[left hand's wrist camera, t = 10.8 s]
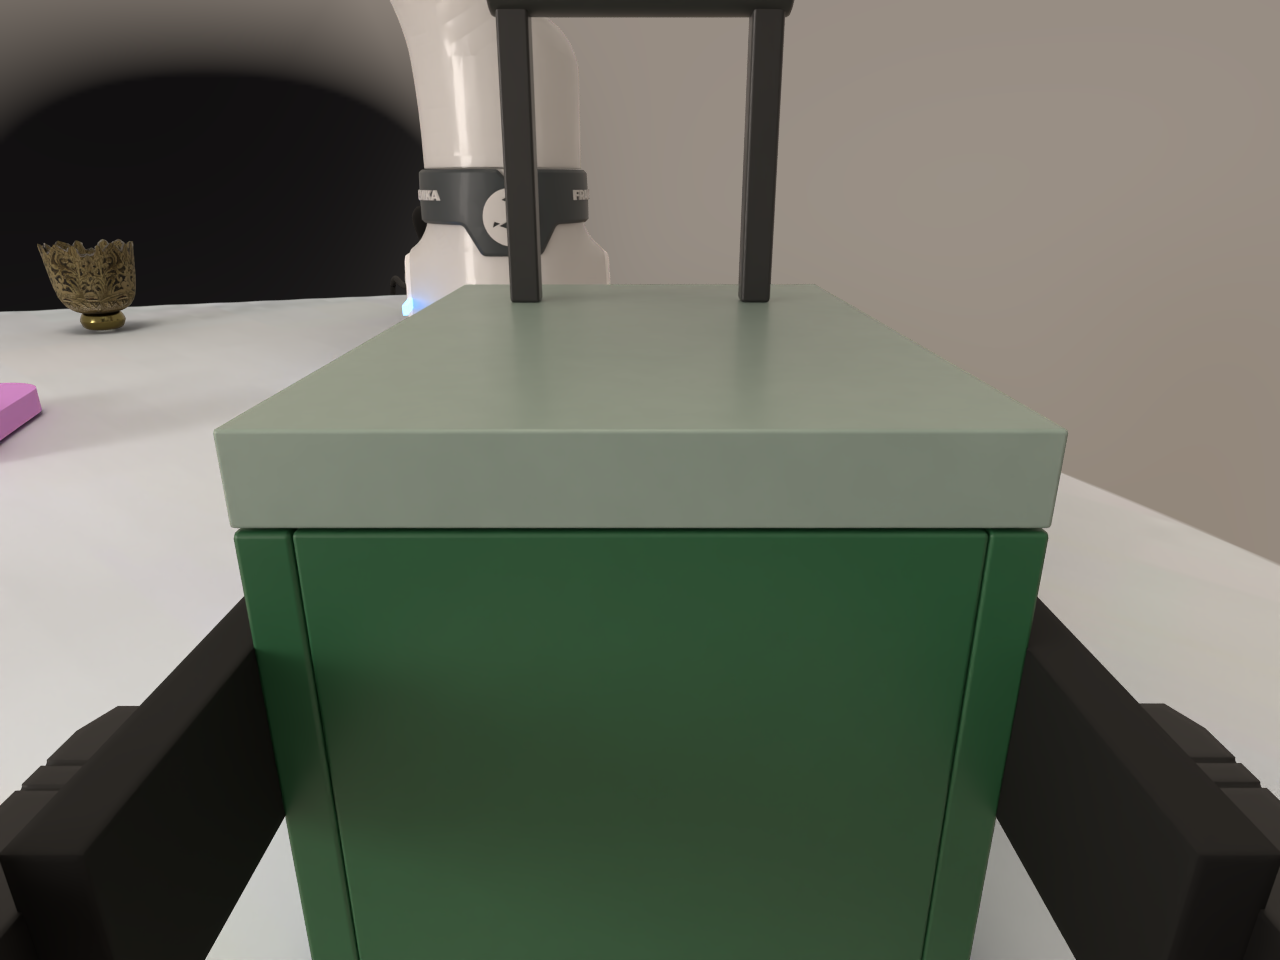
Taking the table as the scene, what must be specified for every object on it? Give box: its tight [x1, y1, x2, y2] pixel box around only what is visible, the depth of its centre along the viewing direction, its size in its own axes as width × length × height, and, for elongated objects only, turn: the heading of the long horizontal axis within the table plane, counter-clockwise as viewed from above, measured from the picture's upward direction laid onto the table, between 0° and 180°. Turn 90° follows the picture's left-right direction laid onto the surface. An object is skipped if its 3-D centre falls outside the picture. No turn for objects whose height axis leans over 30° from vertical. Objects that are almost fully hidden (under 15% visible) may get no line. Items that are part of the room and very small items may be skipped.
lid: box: [213, 0, 1068, 528], centre depth 15 cm, size 14×10×9 cm
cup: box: [38, 239, 136, 330], centre depth 77 cm, size 7×7×8 cm
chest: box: [234, 528, 1048, 960], centre depth 18 cm, size 14×10×9 cm
